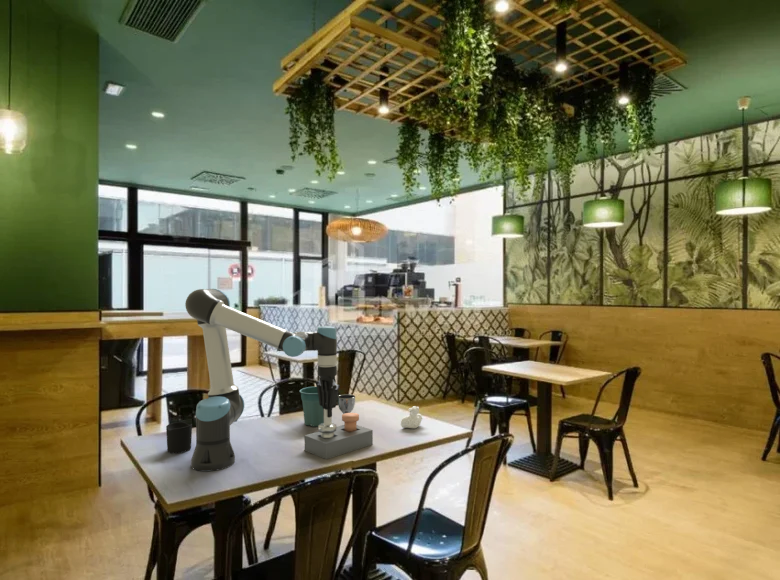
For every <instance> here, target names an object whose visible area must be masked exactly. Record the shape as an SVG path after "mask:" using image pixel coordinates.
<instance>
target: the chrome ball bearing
mask: <svg viewBox="0 0 780 580" xmlns="http://www.w3.org/2000/svg"><path fill="white" fill-rule="evenodd" d="M336 427H337V424H336V423H333V422H332V424H331V425H328V426H325V425H324V423H323V424H320V425H319V426H318V429H317V430H318V431H317V432H321V438H324V439H329V438H332V437H334V432H335V431H336Z"/></svg>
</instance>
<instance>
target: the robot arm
mask: <svg viewBox="0 0 780 580" xmlns="http://www.w3.org/2000/svg"><path fill="white" fill-rule="evenodd" d="M230 306H231V302H230V299H229V297H228V295H227V294H226V293H225V292H224V291H222V290H219V289H216V288H206V289H205V288H202V289H201V288H199V289H195V290H194V291H191V293H189V294H188V296H187V297H186V299H185V305H184V307H185V309H186V312H187V313H188V315H189V316H190V317H191V318H193V319H195V320H196V323H197V326H198V327H200V328H201V329H202V333H203V340H204V341H203V342H204V348H205V349H204V350H205V354H206V361H207V368H208V375H209V382H210V383H209V384H210V390H209V391H208V392H207V398H203V399H202V400H199V401H198V403H197V404H196V410H195V426H196V427H195V433H196V434H195V435H196V436H195V437H196V438H195V439H196V441H195V443H196V444H195V448H194V450H193V454H192V457H191V460H190V463H191V464H190V468H191V469H193V468H194V469H193V470H195V469H197V470H196V471H199V470H213V471H218V470H217V469H219V470H223V469H226V468H228V466H229V467H230V465H231V466H232V465H234V464H235V463H236V455H235V451H234V449H233V446H232V443H231V425H232V424H233V423H235V422H236V421H237V420H239V419H240V417H241V416H242V414H243V412H244V410H245V400H244V398H243V396H242V395H241V394H240V389H239V386H237V385H235V382H234V375H233V369H232V362H231V356H230V349H229V348H230V347H229V343H228V342H229V341H228V336H227V329H228V330H231V331H233V332H234V333H238V334H240V335H242V336H245V337H248V338H250V339H253V340H255V341H257V342H260V343H262V344H265V345H267V346H270V347H271V348H275V349H277V350H279V351H282V352H283V353H284V354H285V355H286V356H288V357H291V358H296V357H299V356H301V355H302V354H303V353H304V352H305V351H306V352H310V351H313V352H315V351H317V365H318V366H317V375H318V376H319V378H318V379H319V380H316V381H315V387H316V386H317V391H318V398H319V404H320V406H322V408H323V415H324V425H325V426H328V425H331V424H332V423H333V421H332V417H333V409H335V408H336V407H337V403H338V396H339V395H338V394H339V393H338V392H339V389H340V388H341V385H340V384H338V383H336V382H337V381H336V376H337V374H338V369H337V368H338V366H337V363H338V361H337V360H338V359H337V357H338V356H337V355H338V354H337V353H338V351H337V350H338V349H337V348H338V347H337V346H338V345H337V344H338V342H337V341H338V338H337V329H336V327H335V326H332V325H331V326H330V325H329V326H328V325H326V326H324V325H323V326H318V327H317V329H316V331H290V330H286V329H285V328H281V327H279V326H277V325H274V324H272V323H270V322H267V321H264V320H263V319H260V318H258V317H255V316H252V315H250V314H248V313H246V312H242V311H241V310H238V309H236V308H233V307H230ZM225 467H226V468H225ZM222 468H223V469H222Z"/></svg>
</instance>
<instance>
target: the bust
mask: <svg viewBox="0 0 780 580" xmlns="http://www.w3.org/2000/svg"><path fill="white" fill-rule="evenodd" d="M408 412H409V414H408V415H406V416H404V417H402V419H401V420H400V426H401V428H403V429H417V428H418V427H419V426H420V425H421V422H422V420H423V416H422V414H421V413H420V407H419V406H416V405H414V406H412V407H409V408H408Z"/></svg>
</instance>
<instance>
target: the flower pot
mask: <svg viewBox="0 0 780 580" xmlns="http://www.w3.org/2000/svg"><path fill="white" fill-rule="evenodd" d="M299 393H300V398H301V401H302V411H303V421H304V425H306V426H309V427H310V426H311V427H318V426H319V425H320V424H323V423H324V415H323V408H322V406H320V404H319V398H318V391H317V386H316V385H315V386H308V387H303V388H301V389H300V390H299Z"/></svg>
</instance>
